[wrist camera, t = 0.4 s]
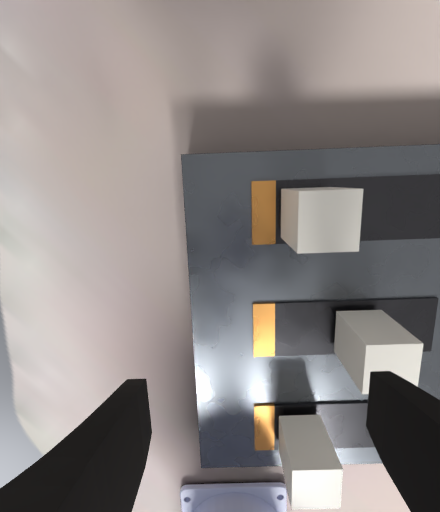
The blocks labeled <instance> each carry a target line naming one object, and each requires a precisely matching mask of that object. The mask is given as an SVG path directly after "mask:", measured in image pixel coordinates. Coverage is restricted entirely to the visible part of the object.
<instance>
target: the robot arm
mask: <svg viewBox="0 0 440 512" xmlns="http://www.w3.org/2000/svg"><path fill="white" fill-rule="evenodd" d="M366 427H367V430H368V432H369V434H370V437H371V439H372V441H373V444H374V446H375V448H376V450H377V453H378V455H379V457H380V459H381V461H382V463H383V465H384V466H385V468H386V470H387V472H388V473H389V475H390V477H391V479H392V480H393V482H394V484H395V485H396V487H397V489H398V491H399V492H400V494H401V496H402V497H403V499H404V501H405V502H406V504H407V506H408V508H409V509H410V511H411V512H440V400H439V399H437V398H436V397H434V396H432V395H431V394H429V393H427V392H426V391H424V390H422V389H421V388H419V387H417V386H416V385H414V384H412V383H411V382H409V381H407V380H405V379H404V378H402V377H400V376H398V375H397V374H395V373H393V372H391V371H372V372H370V382H369V395H368V407H367V419H366ZM151 434H152V429H151V419H150V410H149V401H148V392H147V382H146V379H127V380H126V381H125V382H124V383H123V384H122V385H121V386H120V387H119V388H118V389H117V390H116V391H115V392H114V393H113V394H112V395H111V396H110V397H109V398H108V399H107V400H106V401H105V402H103V403H102V404H101V405H100V406H99V407H98V408H97V409H96V410H95V411H94V412H93V413H92V414H91V415H90V416H89V417H88V418H87V419H86V420H85V421H84V422H82V423H81V424H80V425H79V426H78V427H77V428H76V429H74V430H73V431H72V432H71V433H70V434H69V435H68V436H66V437H65V438H64V439H63V440H62V441H61V442H60V443H58V444H57V445H56V446H55V447H54V448H53V449H52V450H50V451H49V452H48V453H47V454H45V455H44V456H43V457H42V458H40V459H39V460H38V461H37V462H35V463H34V464H33V465H32V466H30V467H29V468H28V469H26V470H25V471H24V472H22V473H21V474H20V475H18V476H17V477H16V478H14V479H13V480H12V481H10V482H9V483H8V484H6V485H5V486H3V487H2V488H0V512H132V508H133V505H134V502H135V499H136V496H137V492H138V489H139V486H140V482H141V479H142V476H143V473H144V469H145V465H146V461H147V456H148V451H149V445H150V440H151ZM180 498H181V510H182V512H287V489H286V485H285V484H284V483H282V482H267V483H228V484H188V485H184V486H182V487H181V491H180Z"/></svg>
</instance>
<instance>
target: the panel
mask: <svg viewBox="0 0 440 512" xmlns="http://www.w3.org/2000/svg"><path fill="white" fill-rule="evenodd" d="M181 160H182V176H183V191H184V207H185V222H186V238H187V253H188V269H189V284H190V300H191V315H192V331H193V347H194V362H195V378H196V393H197V409H198V424H199V440H200V455H201V468H221V467H260V466H282V463H281V458H280V454H279V416H291V415H320V416H321V418H322V420H323V423H324V425H325V428H326V430H327V432H328V435H329V437H330V439H331V442H332V444H333V447H334V449H335V451H336V454H337V456H338V458H339V461H340V463H341V464H375V463H382V461H381V459H380V457H379V455H378V453H377V450H376V448H375V446H374V444H373V441H372V439H371V437H370V434H369V432H368V430H367V427H366V419H367V407H368V395H369V394H362V393H361V392H360V390H359V389H358V387H357V386H356V384H355V383H354V381H353V380H352V378H351V377H350V375H349V374H348V372H347V371H346V369H345V367H344V366H343V364H342V363H341V361H340V360H339V358H338V357H337V355H336V354H335V352H334V342H335V325H336V311H357V310H383V311H384V312H385V313H386V314H387V315H389V316H390V317H391V318H392V319H394V320H395V321H396V322H397V323H399V324H400V325H401V326H402V327H404V328H405V329H406V330H407V331H409V332H410V333H411V334H412V335H413V336H415V337H416V338H417V339H418V340H420V341H421V342H422V343H423V351H422V359H421V366H420V374H419V381H418V387H419V388H421V389H422V390H424V391H426V392H427V393H429V394H431V395H432V396H434V397H436V398H437V399H439V400H440V144H434V145H409V146H384V147H358V148H333V149H308V150H283V151H257V152H232V153H207V154H182V155H181ZM314 187H342V188H359V189H363V202H362V216H361V230H360V243H359V252H331V253H302V254H297V253H296V252H295V251H294V250H293V249H292V248H291V247H290V246H289V245H288V244H287V243H286V242H285V241H284V240H283V239H282V238H281V189H288V188H314Z"/></svg>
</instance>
